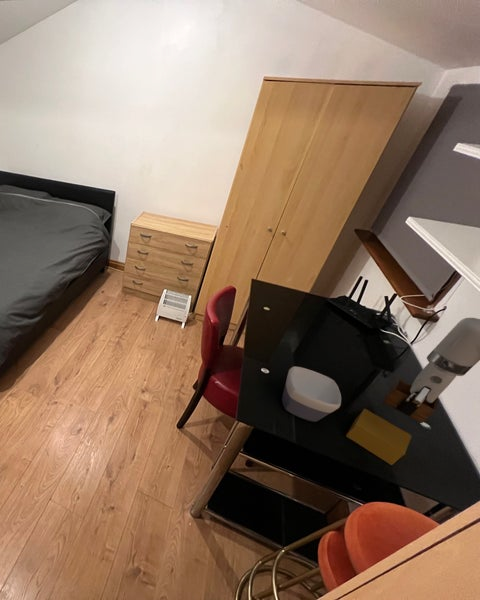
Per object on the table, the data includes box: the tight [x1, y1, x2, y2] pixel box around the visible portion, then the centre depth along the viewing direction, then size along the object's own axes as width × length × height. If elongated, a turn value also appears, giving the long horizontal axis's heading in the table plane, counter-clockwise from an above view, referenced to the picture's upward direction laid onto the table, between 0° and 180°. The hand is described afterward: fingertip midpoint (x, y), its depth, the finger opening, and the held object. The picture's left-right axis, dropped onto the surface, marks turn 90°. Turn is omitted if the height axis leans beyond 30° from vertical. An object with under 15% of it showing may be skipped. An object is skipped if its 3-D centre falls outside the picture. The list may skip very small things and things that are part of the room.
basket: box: [382, 379, 439, 424], centre depth 92 cm, size 9×7×6 cm
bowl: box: [281, 365, 342, 423], centre depth 108 cm, size 15×15×11 cm
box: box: [345, 407, 413, 466], centre depth 100 cm, size 12×10×6 cm
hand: (405, 405), depth 93 cm, fingers closed on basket, 6 cm apart
